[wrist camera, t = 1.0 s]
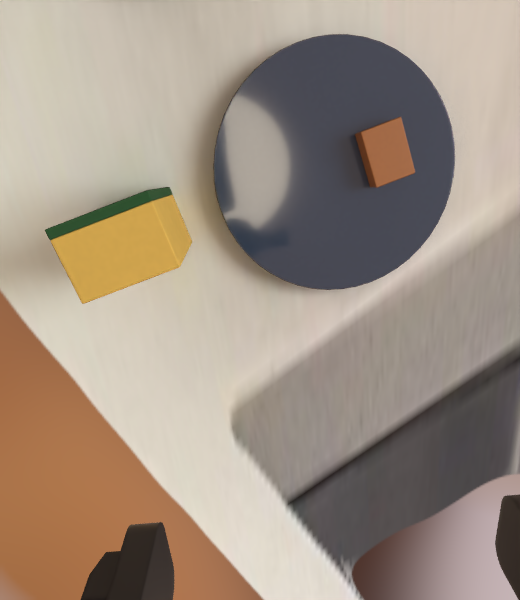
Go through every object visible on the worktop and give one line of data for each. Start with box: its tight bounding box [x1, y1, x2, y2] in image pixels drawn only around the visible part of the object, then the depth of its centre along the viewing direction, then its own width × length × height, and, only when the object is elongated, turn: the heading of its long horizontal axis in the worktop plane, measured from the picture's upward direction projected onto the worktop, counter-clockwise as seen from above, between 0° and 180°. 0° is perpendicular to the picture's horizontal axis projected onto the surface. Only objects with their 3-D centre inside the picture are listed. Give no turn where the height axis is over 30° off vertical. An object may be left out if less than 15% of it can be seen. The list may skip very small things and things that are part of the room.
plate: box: [214, 34, 455, 290], centre depth 33 cm, size 18×18×2 cm
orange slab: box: [355, 117, 415, 188], centre depth 32 cm, size 4×3×2 cm
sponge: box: [45, 187, 192, 304], centre depth 29 cm, size 4×6×10 cm
